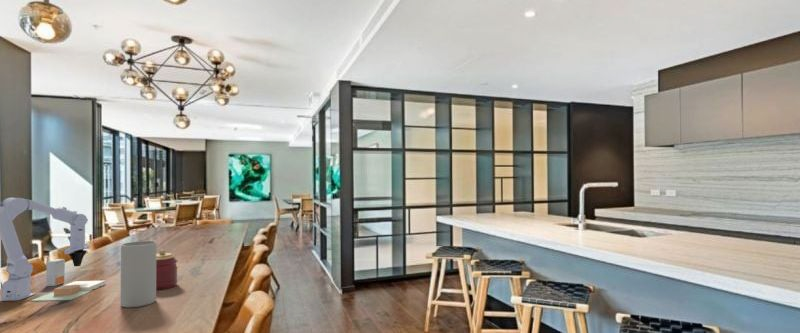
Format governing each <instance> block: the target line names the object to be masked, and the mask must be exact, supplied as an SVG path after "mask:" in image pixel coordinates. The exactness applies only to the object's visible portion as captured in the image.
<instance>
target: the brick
mask: <svg viewBox="0 0 800 333" xmlns="http://www.w3.org/2000/svg"><path fill="white" fill-rule="evenodd" d="M64 285H65V286H64ZM64 285H62V286H59V287H56V288H54V289H53V292H54V296H65V295H73V294H75V293H77V292H80V285H66V284H64Z"/></svg>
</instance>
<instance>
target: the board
mask: <svg viewBox="0 0 800 333" xmlns="http://www.w3.org/2000/svg"><path fill="white" fill-rule="evenodd" d="M65 285H80V291H91V292H92V291H94V290H95V289H98V288H101V287H103V286H105V285H106V280H79V281H76V280H74V281H72V282H69V283H67V284H63V286H65ZM100 286H101V287H100ZM93 289H94V290H93Z"/></svg>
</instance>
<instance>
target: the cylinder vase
mask: <svg viewBox="0 0 800 333" xmlns="http://www.w3.org/2000/svg"><path fill="white" fill-rule="evenodd" d="M156 254H157V241H155V240H141V241H140V240H138V241H131V242H125V243H121V244H120V302H119V303H120V306H121V308H127V309H128V308H130V309H131V308H140V307H141V308H142V307H146V306H149V305H151V304H153V303H155V302H156V300H157V290H156Z"/></svg>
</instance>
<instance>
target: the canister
mask: <svg viewBox="0 0 800 333" xmlns="http://www.w3.org/2000/svg"><path fill="white" fill-rule="evenodd" d="M176 257H177V256H176V255H175V254H173V253H171V252H166V250H165V249H161V250H159V252H158V253H156V291H160V290H168V289H171V288H174V287H177V285H178V268H179V267H178V266H177V263H178V259H177V258H176Z"/></svg>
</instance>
